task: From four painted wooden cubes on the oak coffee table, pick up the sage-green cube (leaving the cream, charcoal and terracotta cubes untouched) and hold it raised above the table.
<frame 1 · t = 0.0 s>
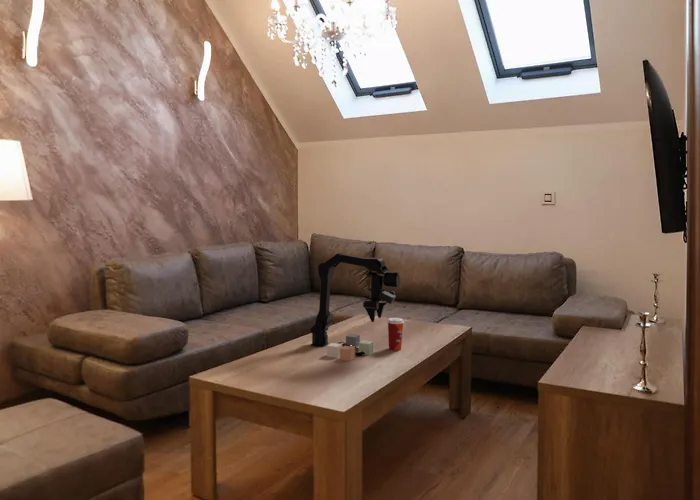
hand: (376, 319, 257), 15 cm above the table, fingers open, 9 cm apart
sage cube: (365, 353, 256), on the table
paper cup: (395, 349, 263), on the table
cream cube: (334, 355, 251), on the table
charcoal cube: (352, 345, 268), on the table
terracotta cube: (347, 359, 246), on the table
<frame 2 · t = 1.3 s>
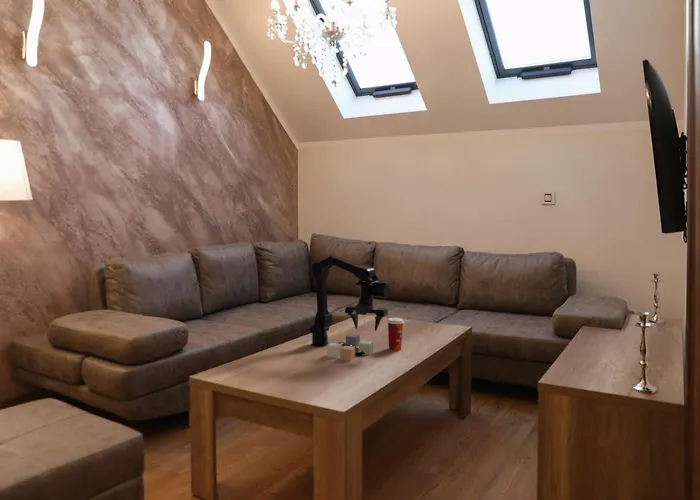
hand: (366, 329, 255), 11 cm above the table, fingers open, 9 cm apart
nothing on the table moved.
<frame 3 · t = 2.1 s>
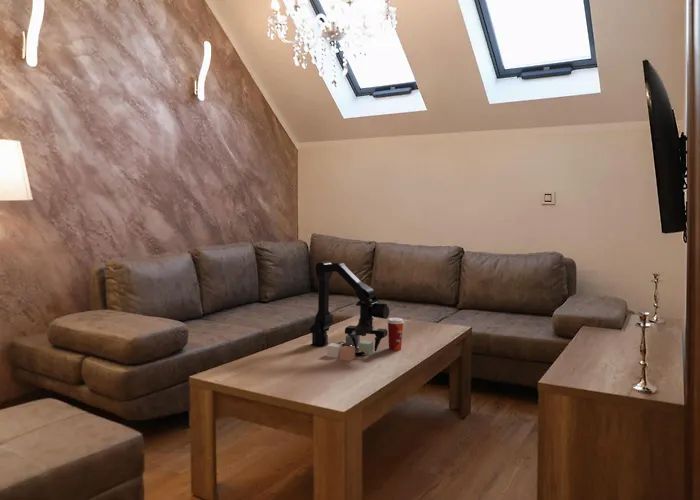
hand: (365, 350, 256), 1 cm above the table, fingers open, 9 cm apart
nothing on the table moved.
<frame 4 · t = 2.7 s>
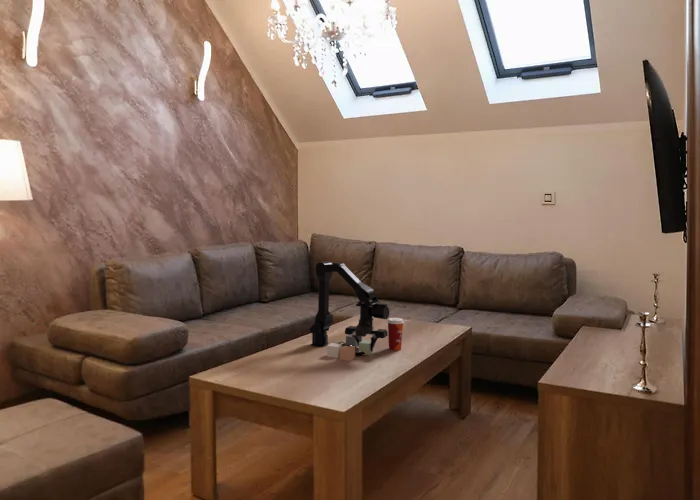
hand: (365, 350, 256), 1 cm above the table, fingers closed on sage cube, 5 cm apart
sage cube: (365, 352, 256), on the table, touching gripper
everything else where it was.
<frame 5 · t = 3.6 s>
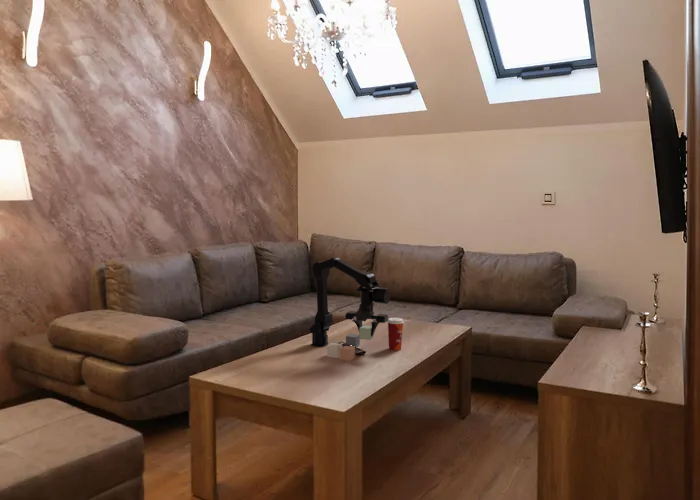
hand: (366, 335, 255), 8 cm above the table, fingers closed on sage cube, 5 cm apart
sage cube: (366, 338, 255), point 7 cm above the table, touching gripper
everything else where it was.
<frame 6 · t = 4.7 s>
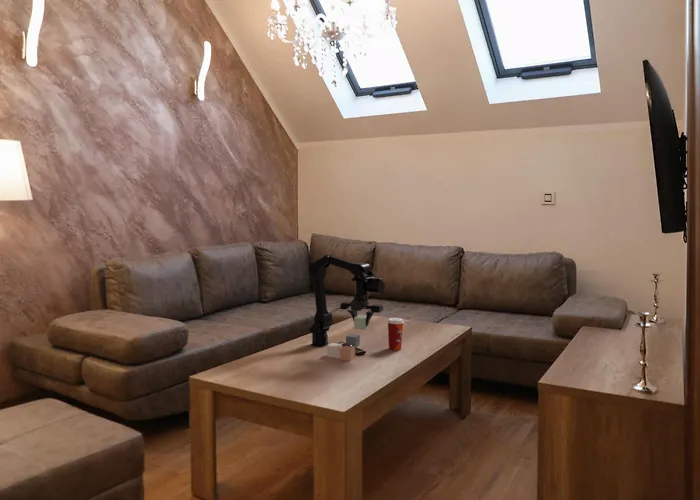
hand: (361, 325, 254), 12 cm above the table, fingers closed on sage cube, 5 cm apart
sage cube: (361, 328, 255), point 11 cm above the table, touching gripper
everything else where it was.
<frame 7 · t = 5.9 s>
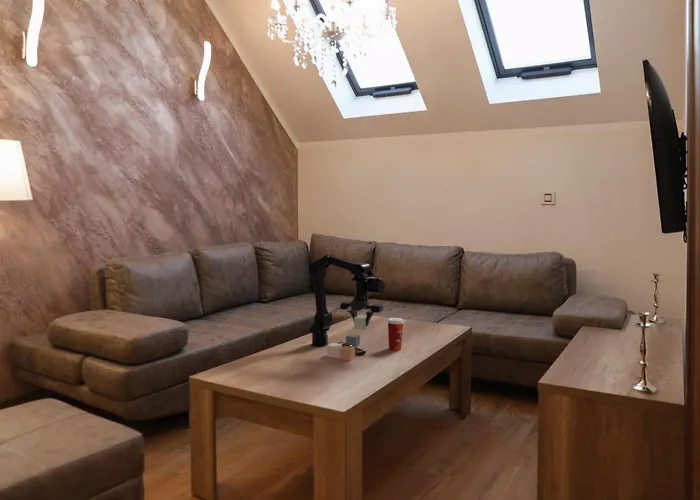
hand: (361, 325, 254), 12 cm above the table, fingers closed on sage cube, 5 cm apart
sage cube: (361, 328, 255), point 11 cm above the table, touching gripper
everything else where it was.
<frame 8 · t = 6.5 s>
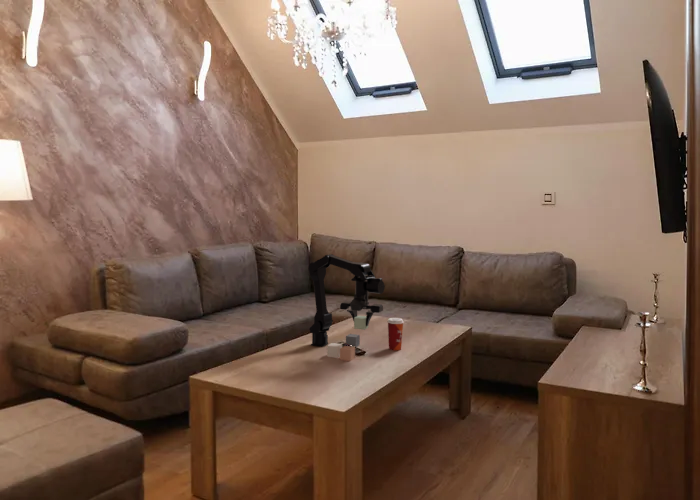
hand: (361, 325, 254), 12 cm above the table, fingers closed on sage cube, 5 cm apart
sage cube: (361, 328, 255), point 11 cm above the table, touching gripper
everything else where it was.
at the end: the gripper is holding sage cube; sage cube point 11.4 cm above the table; terracotta cube moved 0.1 cm from its start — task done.
